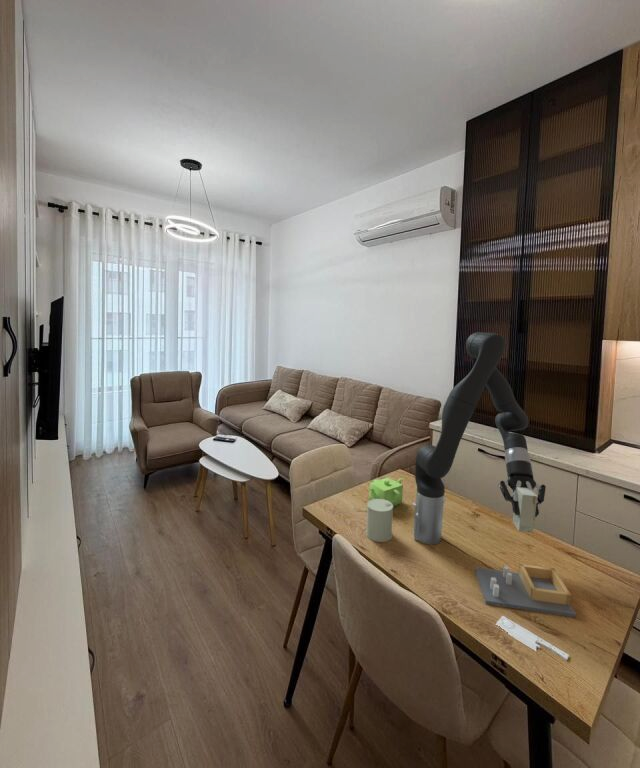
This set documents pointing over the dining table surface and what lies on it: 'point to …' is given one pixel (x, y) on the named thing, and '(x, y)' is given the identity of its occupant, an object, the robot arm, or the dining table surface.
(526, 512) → the skincare box
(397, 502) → the teapot
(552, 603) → the board
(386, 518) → the can
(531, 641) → the white plastic strip tool
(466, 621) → the dining table surface
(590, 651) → the dining table surface
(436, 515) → the robot arm
